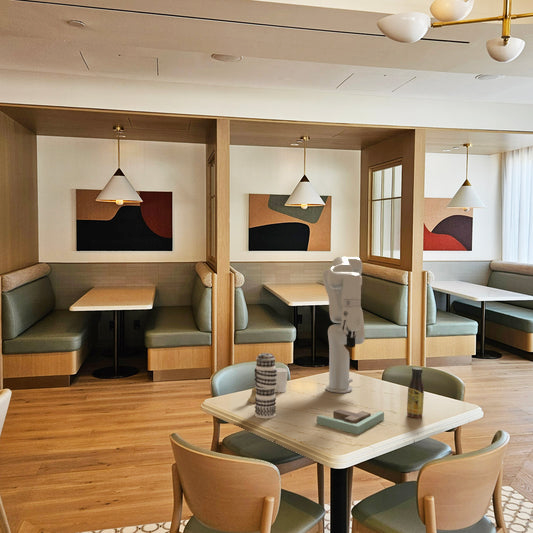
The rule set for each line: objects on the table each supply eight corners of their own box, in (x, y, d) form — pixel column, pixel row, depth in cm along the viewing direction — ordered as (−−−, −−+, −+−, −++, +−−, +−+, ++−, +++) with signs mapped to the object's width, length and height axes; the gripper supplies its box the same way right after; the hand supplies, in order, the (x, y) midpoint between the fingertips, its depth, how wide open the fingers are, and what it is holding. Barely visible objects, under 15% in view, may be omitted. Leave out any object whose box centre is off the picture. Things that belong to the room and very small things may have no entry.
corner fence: (344, 410, 221) (344, 403, 221) (383, 419, 210) (384, 412, 210) (316, 423, 204) (316, 416, 204) (358, 434, 193) (358, 426, 193)
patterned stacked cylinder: (253, 418, 210) (254, 356, 208) (254, 411, 219) (254, 351, 218) (276, 418, 210) (277, 356, 209) (276, 411, 219) (276, 352, 218)
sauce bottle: (403, 415, 215) (404, 367, 214) (413, 412, 219) (414, 365, 218) (417, 419, 210) (418, 370, 209) (426, 416, 214) (427, 368, 213)
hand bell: (263, 397, 239) (263, 362, 238) (268, 402, 231) (268, 366, 230) (245, 398, 237) (246, 363, 236) (250, 404, 229) (250, 367, 228)
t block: (345, 416, 213) (345, 406, 213) (370, 423, 205) (370, 413, 205) (327, 423, 205) (327, 413, 205) (352, 431, 197) (353, 420, 196)
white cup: (287, 393, 246) (287, 372, 245) (270, 393, 246) (270, 371, 246) (287, 388, 254) (287, 368, 253) (270, 388, 254) (271, 367, 253)
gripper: (350, 305, 210) (349, 350, 211) (368, 302, 222) (367, 345, 223) (334, 304, 215) (333, 348, 216) (352, 301, 227) (351, 343, 228)
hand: (350, 346), depth 219 cm, fingers closed
